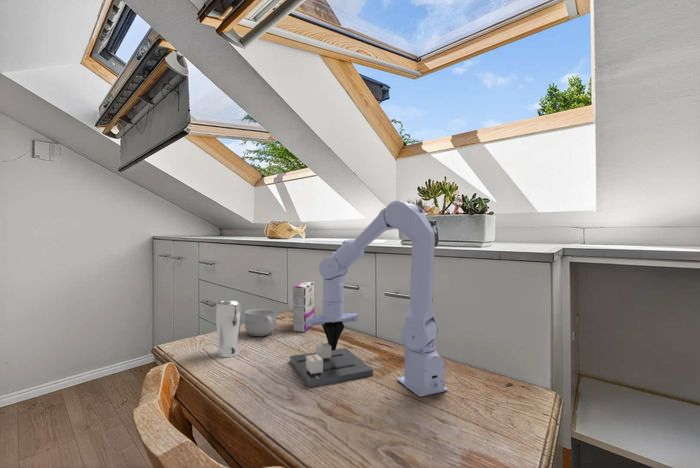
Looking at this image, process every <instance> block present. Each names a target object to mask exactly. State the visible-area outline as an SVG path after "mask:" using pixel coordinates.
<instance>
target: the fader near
mask: <svg viewBox="0 0 700 468" xmlns="http://www.w3.org/2000/svg"><path fill="white" fill-rule="evenodd" d="M306 368H307V370H308V371H309V372H310V373H311V374H314V373H320V372H323V359H322V358H321V357H320V356H319V355H318V354H315V355H309V356H306Z"/></svg>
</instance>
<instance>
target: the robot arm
mask: <svg viewBox="0 0 700 468" xmlns="http://www.w3.org/2000/svg"><path fill="white" fill-rule="evenodd" d="M390 230H397V231H400V232H402V233H403V234H404V235H405V236H406V237H407V238H409V240H410V241H411V262H410V266H411V267H410V286H409V287H410V291H409V293H410V294H409V296H410V297H409V308H408V310H407V313H406V314H405V315H406V316H405V323H404V326H403V328H402V329H401V332H400V337H401V341H402V343H403V346H404V370H403V371H404V373H403V374H404V375H403V376H399V377H396V381H398V382H399V383H401V384H402V385H403V386H404V387H406V388H407V389H409V390H410V391H411V392H413V393H414V395H416V396H418V397H425V396H431V395H434V394H435V395H436V394H438V393H443V392H446V391H448V388H447V387H446V386H445V385H446V383H445V381H446V377H445V376H446V364H445V360H444V359H443V357H441V355H440V354H439V353H438V351H437V349H436V347H437V345H436V342H435V339H436V338H437V337H438V334H439V333H440V332H439V331H440V330H439V325H438V323H437V320H436V312H435V310H434V308H433V290H434V264H435V262H434V261H435V242H436V241H435V239H436V235H435V231H434V229H433V227H432V226H431V223H430V222H429V219H428V218H427V216H426V212H425V210H424V209H422V208H421V207H420V206H418V205H417V204H415V203H411V202H410V203H409V202H405V201H404V202H403V201H401V200H394V201H391V202H390V203H388V204H387V206H386V207H384V208H383V209H381V210H380V211H379V212H378V215H377V216H376V217H375V218H374V219H373V220H372V221H371V222H370V223H369V224H368V226H366V227H365V229H363V231H361V233H360V234H358V235H357V237H356V238H354V239H353V238H349V239H345V240H344V241H342V242H341V244H342V245H341V246H340V247H339V248H338V249H337V250H336V251H333V252H332V253H331V255H330V257H323V258H322V260H321V261H320V262H319V266H318V272H319V274H320V276H321V277H322V314H321V315H316V316H315V315H314V317H310V318H307V326H309V327H310V328H312V327H313V326H320V325H321V327H322V329H323V332H324V333H325V337H326V341H327V343H328V344H329V345H330V346H331V351H332V350H336V349H337V345H338V342H339V338H340V336H341V334H342V332H343V331H344V329H345V323H349V322H354V323H356V322H359V321H358V314H357V313H355V312H351V313H344V282H345V276H346V275H347V273H348V271H349V269H350V268H351V267H352V266H353V265H354V264H355V263H356V262H357V261H359V259H361V258H362V257H363V256H364V254H365V248H367V247H368V246H369V245H370V244H371V243H372V242H374V241H375V240H377V239H378V238H379V237H380V236H381V235H382V234H384V233H385V232H386V231H390Z"/></svg>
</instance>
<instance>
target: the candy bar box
mask: <svg viewBox="0 0 700 468" xmlns="http://www.w3.org/2000/svg"><path fill="white" fill-rule="evenodd" d="M292 308H293V309H292V314H293V315H292V319H293V320H292V326H293V327H292V330H293V332H294V331H299V332H298V333H307V331H309V330H310V328H311V327H309V326H307V318H310V317H315V282H314V281H302V282H301V283H299V284H298V283H297V284H296V285H294V286H293V287H292Z"/></svg>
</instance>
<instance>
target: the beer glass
mask: <svg viewBox="0 0 700 468" xmlns="http://www.w3.org/2000/svg"><path fill="white" fill-rule="evenodd" d="M215 311H216V312H215V325H216V331H217V336H218V349H217V354H216V355H217V356H218V357H219V358H223V359H224V358H232V357H236V356H238V355H240V348H239V336H240V335H239V334H240V330H241V325H242V302H241V301H239V300H232V299H231V300H230V299H229V300H221V301H218V302H217V303H216V310H215Z"/></svg>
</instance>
